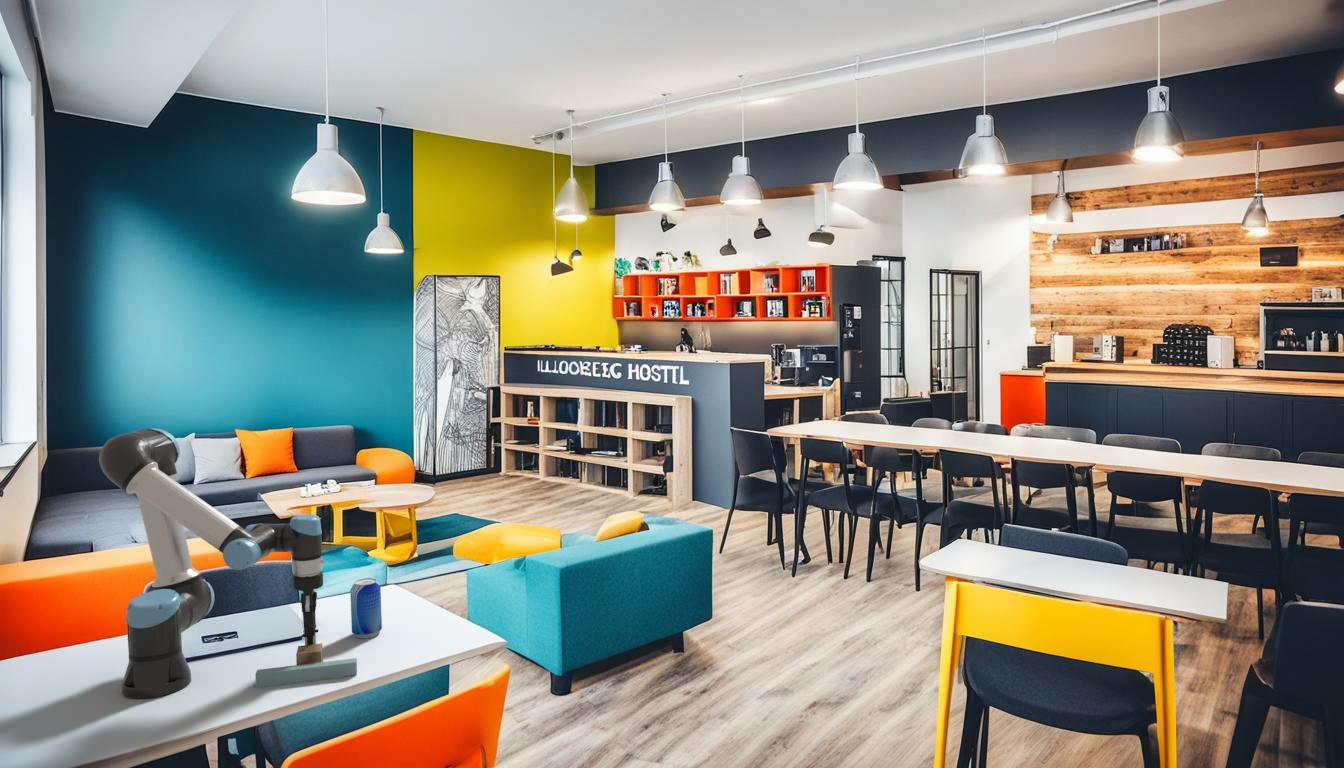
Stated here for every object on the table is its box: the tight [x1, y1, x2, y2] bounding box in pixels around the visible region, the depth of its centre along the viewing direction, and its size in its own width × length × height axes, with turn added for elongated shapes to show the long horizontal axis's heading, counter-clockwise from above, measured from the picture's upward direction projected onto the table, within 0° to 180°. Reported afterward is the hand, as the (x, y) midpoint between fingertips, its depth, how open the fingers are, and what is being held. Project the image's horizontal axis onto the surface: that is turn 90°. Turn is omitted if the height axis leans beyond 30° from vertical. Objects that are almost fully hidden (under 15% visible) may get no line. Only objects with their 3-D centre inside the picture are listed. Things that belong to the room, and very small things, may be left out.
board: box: [255, 657, 358, 688], centre depth 226 cm, size 24×3×4 cm, turn 108°
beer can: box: [350, 577, 383, 639], centre depth 258 cm, size 8×8×16 cm
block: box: [295, 643, 324, 665], centre depth 232 cm, size 6×6×6 cm
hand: (311, 658), depth 237 cm, fingers closed
